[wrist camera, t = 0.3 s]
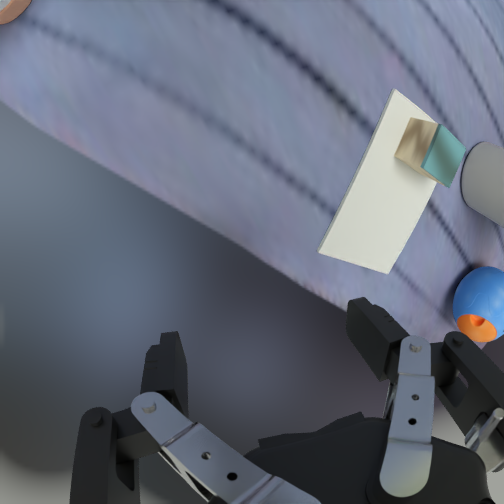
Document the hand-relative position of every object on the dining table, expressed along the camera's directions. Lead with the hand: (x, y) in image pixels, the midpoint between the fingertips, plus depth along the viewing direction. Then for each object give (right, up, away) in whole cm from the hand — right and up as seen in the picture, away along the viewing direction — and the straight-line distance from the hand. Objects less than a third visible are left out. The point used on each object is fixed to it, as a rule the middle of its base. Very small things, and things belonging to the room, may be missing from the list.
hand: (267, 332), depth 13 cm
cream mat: (+19, +12, +24) cm, 33 cm away
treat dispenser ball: (+45, -3, +39) cm, 60 cm away
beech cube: (+21, +18, +20) cm, 35 cm away
